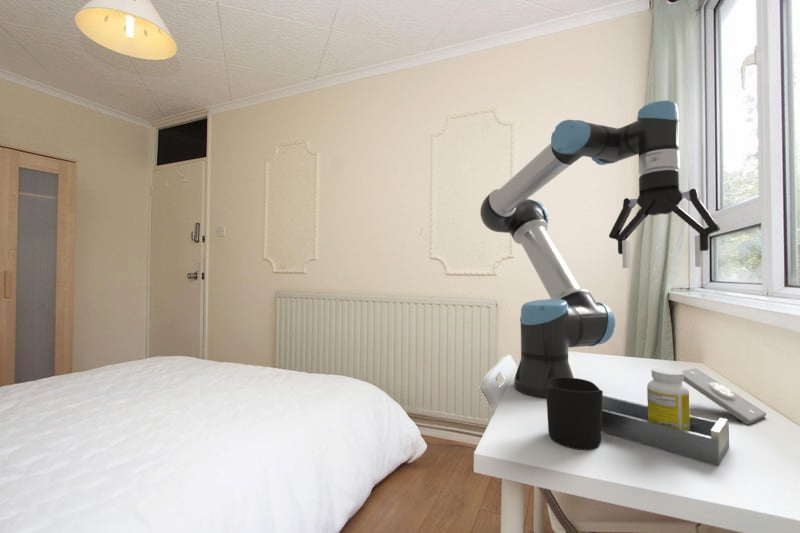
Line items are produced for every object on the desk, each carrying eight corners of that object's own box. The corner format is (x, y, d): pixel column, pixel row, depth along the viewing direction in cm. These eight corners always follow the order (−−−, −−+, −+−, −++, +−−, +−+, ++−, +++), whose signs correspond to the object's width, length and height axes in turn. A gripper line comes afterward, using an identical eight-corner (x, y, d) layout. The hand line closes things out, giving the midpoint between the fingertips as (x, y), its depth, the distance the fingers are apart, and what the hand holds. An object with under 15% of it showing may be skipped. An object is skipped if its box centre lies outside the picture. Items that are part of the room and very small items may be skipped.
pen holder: (612, 441, 67) (611, 385, 67) (588, 457, 61) (587, 395, 61) (562, 425, 74) (561, 374, 75) (536, 437, 68) (536, 383, 69)
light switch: (753, 417, 74) (679, 368, 85) (735, 438, 76) (666, 388, 87) (770, 410, 78) (697, 364, 89) (753, 430, 80) (684, 383, 91)
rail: (581, 425, 74) (580, 400, 74) (600, 413, 80) (600, 390, 81) (718, 466, 58) (717, 433, 58) (729, 446, 65) (728, 417, 65)
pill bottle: (674, 425, 70) (673, 366, 70) (699, 440, 64) (697, 375, 64) (640, 425, 70) (639, 366, 71) (662, 439, 64) (661, 375, 64)
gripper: (593, 181, 90) (594, 268, 90) (729, 156, 72) (732, 265, 71) (605, 186, 95) (606, 268, 95) (735, 163, 76) (738, 266, 76)
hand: (660, 267), depth 83 cm, fingers open, 13 cm apart
